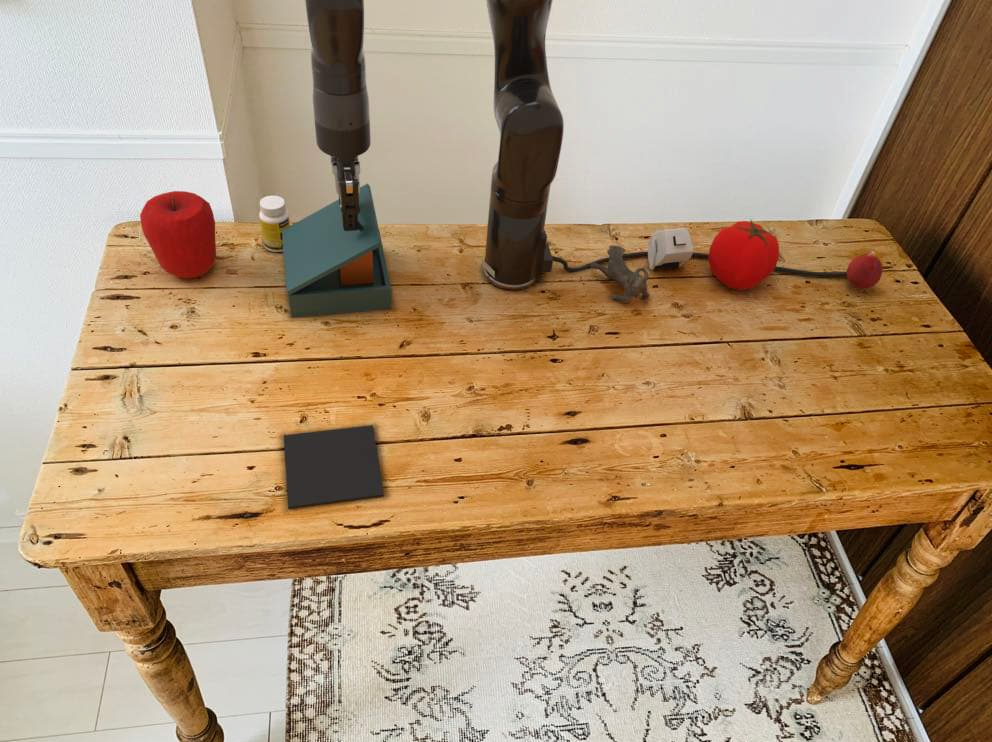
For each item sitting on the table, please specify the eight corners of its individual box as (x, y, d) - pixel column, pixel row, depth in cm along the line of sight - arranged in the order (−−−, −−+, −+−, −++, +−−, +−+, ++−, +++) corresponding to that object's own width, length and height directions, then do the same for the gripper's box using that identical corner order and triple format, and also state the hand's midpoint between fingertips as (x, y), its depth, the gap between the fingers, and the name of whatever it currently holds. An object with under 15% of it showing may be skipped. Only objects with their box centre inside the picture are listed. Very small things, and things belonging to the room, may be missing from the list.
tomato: (708, 297, 140) (726, 245, 131) (697, 256, 147) (714, 204, 139) (774, 302, 141) (797, 250, 133) (760, 261, 148) (780, 210, 140)
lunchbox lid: (370, 186, 130) (351, 161, 126) (382, 245, 120) (362, 220, 116) (284, 233, 132) (263, 210, 128) (289, 295, 122) (266, 272, 118)
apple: (217, 244, 136) (201, 172, 126) (230, 281, 130) (215, 209, 120) (150, 255, 132) (129, 183, 122) (160, 294, 126) (139, 221, 116)
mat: (373, 426, 112) (372, 424, 112) (383, 496, 105) (383, 494, 105) (283, 436, 110) (283, 434, 109) (288, 508, 102) (288, 507, 102)
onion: (874, 284, 147) (893, 249, 141) (869, 302, 144) (889, 266, 138) (842, 273, 149) (860, 238, 143) (837, 291, 145) (855, 255, 139)
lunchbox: (379, 249, 139) (379, 229, 136) (391, 309, 129) (391, 288, 126) (286, 255, 136) (283, 234, 132) (291, 317, 126) (288, 296, 122)
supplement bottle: (285, 255, 135) (280, 213, 129) (259, 249, 136) (251, 207, 130) (296, 239, 139) (291, 197, 133) (270, 233, 139) (264, 191, 133)
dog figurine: (653, 304, 137) (663, 270, 131) (625, 313, 134) (634, 278, 129) (614, 263, 143) (622, 229, 138) (587, 271, 141) (594, 236, 136)
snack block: (370, 267, 134) (369, 233, 129) (373, 283, 132) (372, 248, 127) (338, 270, 133) (336, 235, 128) (341, 285, 131) (338, 250, 125)
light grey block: (644, 273, 145) (668, 261, 136) (639, 237, 145) (662, 222, 136) (674, 270, 147) (700, 258, 137) (668, 234, 147) (694, 220, 137)
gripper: (375, 141, 108) (379, 243, 120) (363, 88, 117) (368, 189, 129) (317, 142, 106) (327, 246, 118) (310, 89, 115) (320, 191, 127)
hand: (348, 216), depth 124 cm, fingers closed on lunchbox lid, 6 cm apart
